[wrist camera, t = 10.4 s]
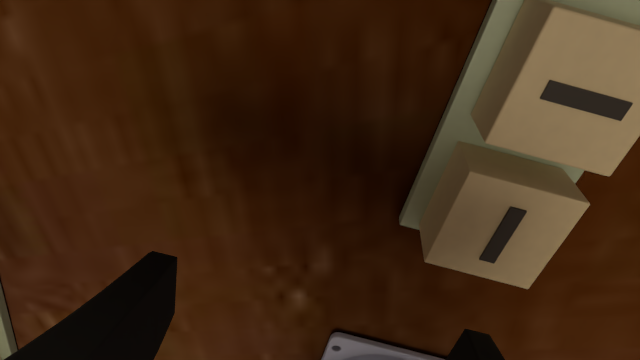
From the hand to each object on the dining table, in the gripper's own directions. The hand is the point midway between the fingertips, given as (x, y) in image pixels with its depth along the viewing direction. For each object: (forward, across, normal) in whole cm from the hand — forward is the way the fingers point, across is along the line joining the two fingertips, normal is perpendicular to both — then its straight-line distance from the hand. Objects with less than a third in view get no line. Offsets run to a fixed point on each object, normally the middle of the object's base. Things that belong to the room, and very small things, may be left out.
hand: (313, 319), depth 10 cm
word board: (+9, -7, -5) cm, 12 cm away
